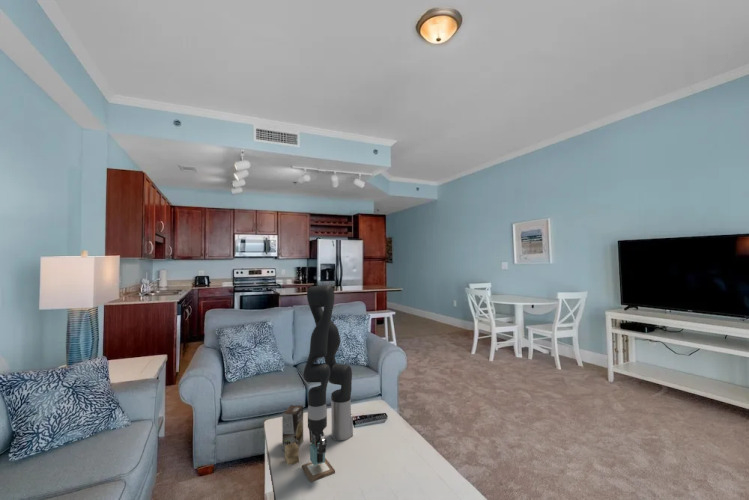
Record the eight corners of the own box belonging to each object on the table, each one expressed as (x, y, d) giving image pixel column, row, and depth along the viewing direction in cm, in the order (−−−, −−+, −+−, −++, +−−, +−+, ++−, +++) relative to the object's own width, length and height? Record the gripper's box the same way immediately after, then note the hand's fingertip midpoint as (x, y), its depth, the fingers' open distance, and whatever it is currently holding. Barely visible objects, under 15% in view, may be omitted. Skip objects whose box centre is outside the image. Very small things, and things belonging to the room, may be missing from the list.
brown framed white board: (325, 460, 139) (325, 457, 139) (335, 473, 130) (335, 470, 130) (301, 468, 134) (301, 465, 134) (310, 482, 125) (310, 479, 125)
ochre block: (295, 456, 142) (295, 442, 142) (298, 462, 138) (298, 447, 138) (284, 460, 139) (284, 445, 140) (288, 465, 135) (287, 450, 136)
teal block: (320, 456, 135) (320, 441, 135) (325, 462, 131) (324, 446, 131) (310, 459, 133) (310, 444, 133) (314, 465, 129) (314, 449, 129)
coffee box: (295, 452, 145) (295, 414, 145) (281, 450, 146) (281, 413, 147) (304, 440, 154) (303, 405, 154) (291, 439, 155) (290, 404, 156)
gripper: (333, 419, 128) (333, 465, 128) (319, 406, 141) (319, 447, 140) (314, 424, 125) (314, 471, 124) (302, 410, 137) (302, 453, 136)
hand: (317, 458), depth 132 cm, fingers closed on teal block, 4 cm apart
